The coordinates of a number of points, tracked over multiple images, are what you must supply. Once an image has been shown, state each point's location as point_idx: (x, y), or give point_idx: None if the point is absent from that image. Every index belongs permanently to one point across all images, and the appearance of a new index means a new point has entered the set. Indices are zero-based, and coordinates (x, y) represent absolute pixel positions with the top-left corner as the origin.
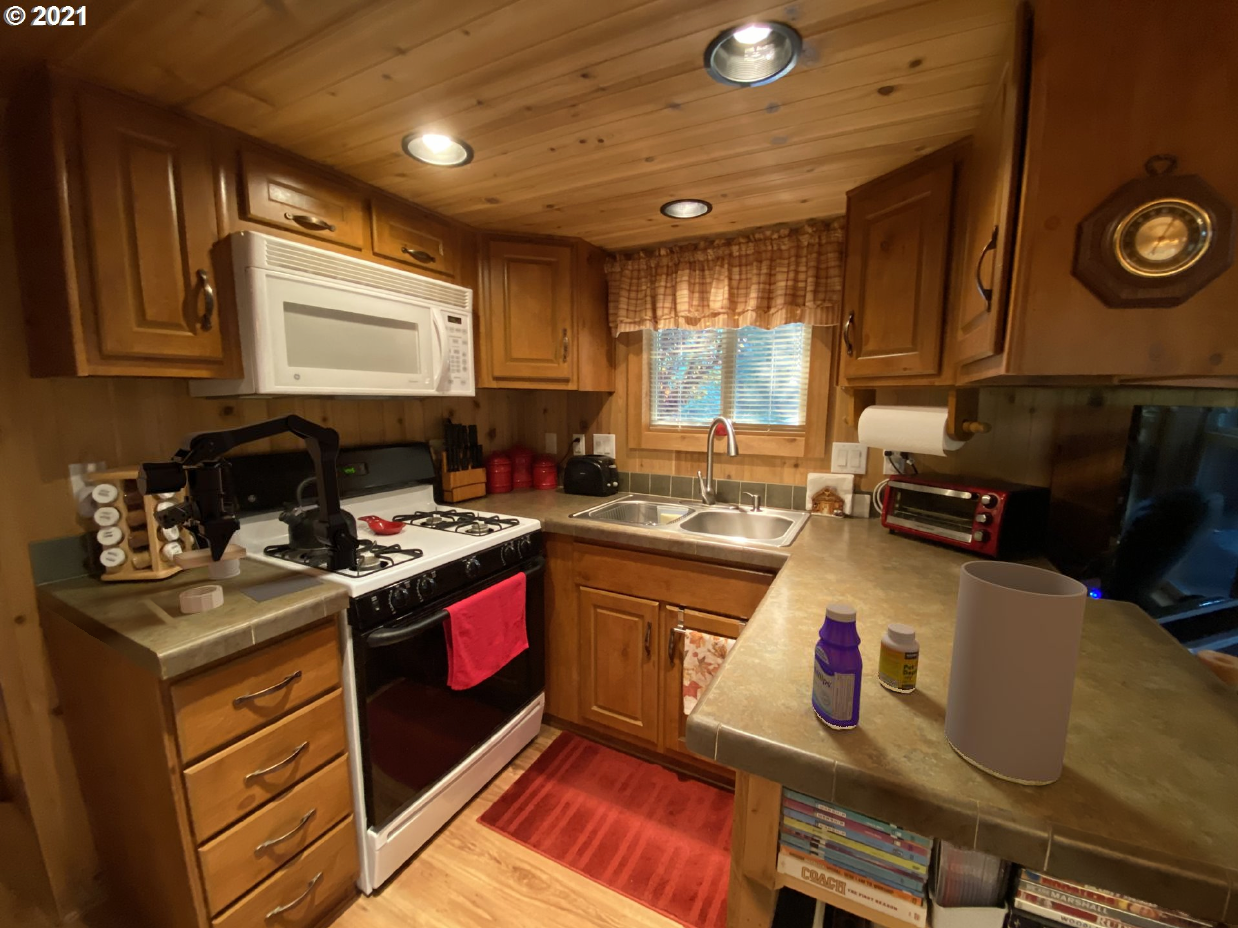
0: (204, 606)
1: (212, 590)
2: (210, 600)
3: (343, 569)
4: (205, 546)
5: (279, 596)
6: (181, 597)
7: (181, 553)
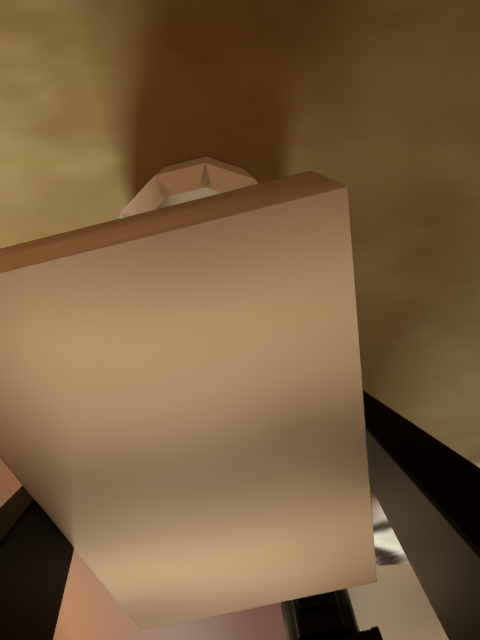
0: None
1: None
2: None
3: None
4: (379, 475)
5: None
6: (163, 173)
7: (319, 281)
